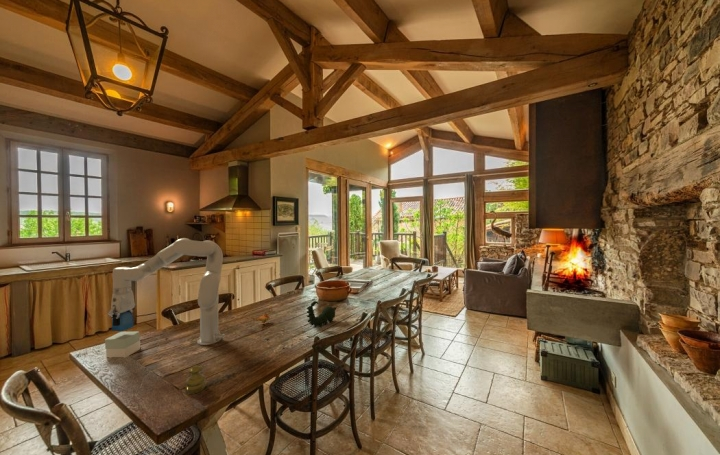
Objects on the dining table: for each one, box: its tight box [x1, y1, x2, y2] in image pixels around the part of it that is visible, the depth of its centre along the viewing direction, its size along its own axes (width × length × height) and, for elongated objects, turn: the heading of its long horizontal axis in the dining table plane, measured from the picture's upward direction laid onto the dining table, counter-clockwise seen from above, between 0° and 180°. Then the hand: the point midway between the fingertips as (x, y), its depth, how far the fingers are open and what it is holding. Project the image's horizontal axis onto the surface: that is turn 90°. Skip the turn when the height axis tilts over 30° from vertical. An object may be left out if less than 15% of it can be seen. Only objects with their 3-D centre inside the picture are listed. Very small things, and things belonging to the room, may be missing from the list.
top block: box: [104, 331, 141, 350], centre depth 150 cm, size 10×10×5 cm
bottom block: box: [105, 339, 141, 358], centre depth 150 cm, size 10×10×5 cm
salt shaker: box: [184, 364, 206, 395], centre depth 119 cm, size 7×7×10 cm
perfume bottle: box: [111, 311, 134, 332], centre depth 150 cm, size 6×6×12 cm
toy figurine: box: [306, 300, 337, 328], centre depth 193 cm, size 9×19×25 cm
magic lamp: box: [251, 305, 273, 323], centre depth 193 cm, size 7×18×11 cm, turn 150°
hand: (122, 322), depth 150 cm, fingers closed on perfume bottle, 7 cm apart
